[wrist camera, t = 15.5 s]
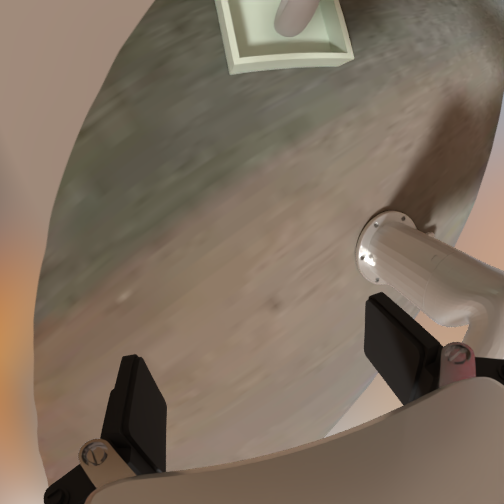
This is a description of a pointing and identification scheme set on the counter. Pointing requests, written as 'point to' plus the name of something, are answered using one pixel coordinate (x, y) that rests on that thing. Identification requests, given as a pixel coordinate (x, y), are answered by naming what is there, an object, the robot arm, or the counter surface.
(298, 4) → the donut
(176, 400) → the counter surface
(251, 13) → the bin
